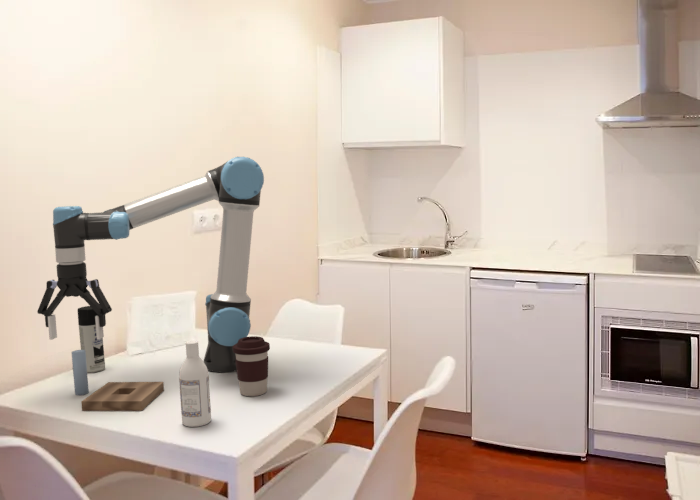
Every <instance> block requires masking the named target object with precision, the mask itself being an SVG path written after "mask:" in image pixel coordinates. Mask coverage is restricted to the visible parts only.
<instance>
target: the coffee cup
mask: <svg viewBox="0 0 700 500" xmlns="http://www.w3.org/2000/svg"><path fill="white" fill-rule="evenodd" d="M270 348H271V346H270V343H269V341H265V339H264V338H263V337H261V336H257V335H256V336H255V335H254V336H253V335H251V336H247V337H244V338H241V339H239V340H238V343H236V344H235V345H233V352H234V353H235V354H236V359H235V361H236V369H237V371H236V374H237V376H236V378H237V380H238V384H239V385H238V386H239V392H240V394H241V395H242V396H244V397H257V396H261V395H264V394H266V392H267V390H268V377H269V356H268V352H269V351H270Z"/></svg>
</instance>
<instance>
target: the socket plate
mask: <svg viewBox="0 0 700 500" xmlns="http://www.w3.org/2000/svg"><path fill="white" fill-rule="evenodd" d="M164 391H165V383H164V381H107V383H105V384H104V385H102V386H101V387H99V388H98V389H97V390H96V391H94V392H93V393H91V394H90V395H88V396H87V397H86V398H84V399H83V400H81V403H80V404H81V411H82V412H83V411H84V412H85V411H86V412H87V411H89V412H90V411H91V412H92V411H93V412H99V411H100V412H103V411H104V412H107V411H109V412H113V411H115V412H117V411H118V412H123V411H124V412H127V411H129V412H132V411H133V412H134V411H135V412H137V411H143V410H144V409H145V408H147V407H148V406H149V405H150V404H151V403H152V402H153V401H154V400H155V399H157V398H158V397H159V396H160V394H162V393H163V392H164Z"/></svg>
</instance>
